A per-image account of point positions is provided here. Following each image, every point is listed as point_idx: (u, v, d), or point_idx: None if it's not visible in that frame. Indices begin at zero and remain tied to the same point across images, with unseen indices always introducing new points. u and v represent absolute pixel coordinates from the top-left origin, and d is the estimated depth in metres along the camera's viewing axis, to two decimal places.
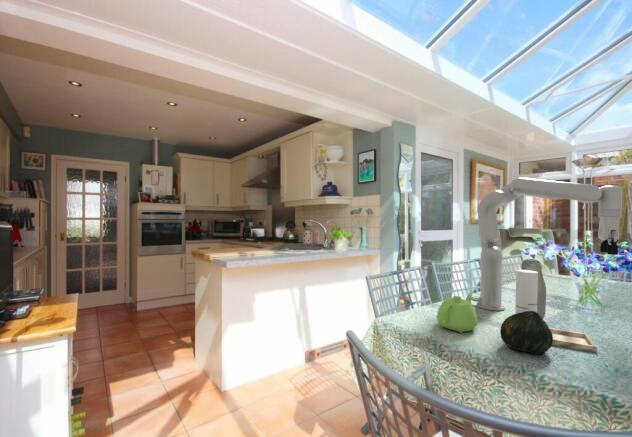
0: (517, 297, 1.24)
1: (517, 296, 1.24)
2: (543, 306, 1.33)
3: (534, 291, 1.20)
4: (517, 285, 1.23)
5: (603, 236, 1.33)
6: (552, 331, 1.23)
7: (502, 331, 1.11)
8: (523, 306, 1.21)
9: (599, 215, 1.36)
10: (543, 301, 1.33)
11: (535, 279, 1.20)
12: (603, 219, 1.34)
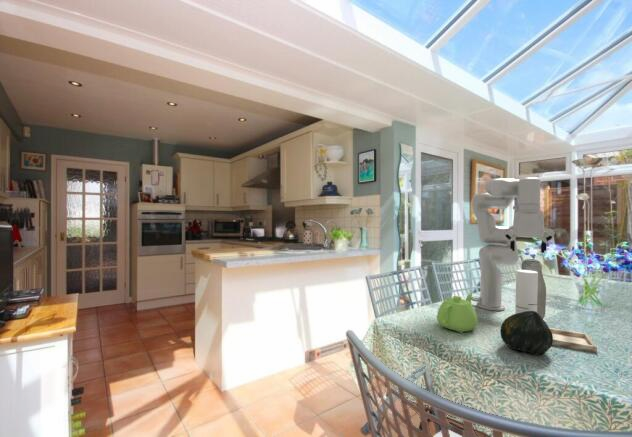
0: (517, 297, 1.24)
1: (517, 296, 1.24)
2: (543, 306, 1.33)
3: (534, 291, 1.20)
4: (517, 285, 1.23)
5: (539, 233, 1.19)
6: (552, 331, 1.23)
7: (502, 331, 1.11)
8: (523, 306, 1.21)
9: (531, 210, 1.19)
10: (543, 301, 1.33)
11: (535, 279, 1.20)
12: (535, 214, 1.20)
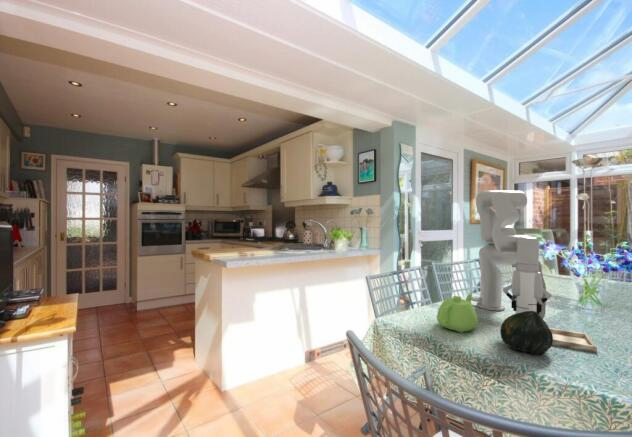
0: (517, 297, 1.24)
1: (517, 296, 1.24)
2: (543, 306, 1.33)
3: None
4: None
5: (538, 294, 1.19)
6: (552, 331, 1.23)
7: (502, 331, 1.11)
8: (523, 306, 1.21)
9: (530, 270, 1.20)
10: None
11: None
12: None
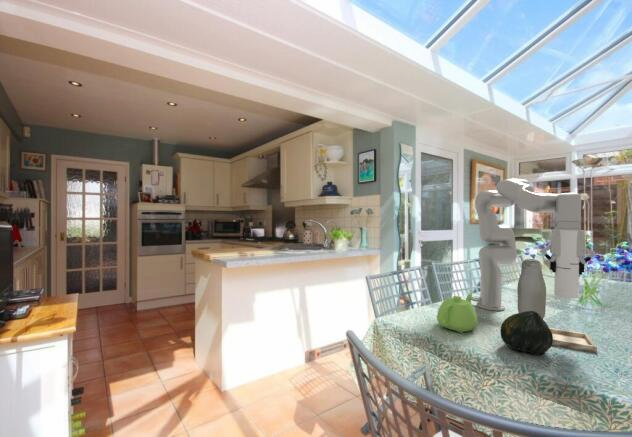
0: (557, 257, 1.16)
1: (557, 256, 1.16)
2: (543, 306, 1.33)
3: None
4: None
5: (580, 253, 1.12)
6: (552, 331, 1.23)
7: (502, 331, 1.11)
8: (564, 266, 1.14)
9: (572, 227, 1.13)
10: (543, 301, 1.33)
11: None
12: None
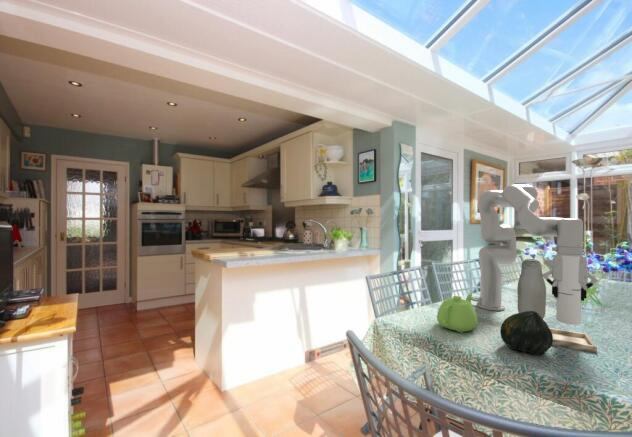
0: (559, 283, 1.16)
1: (559, 281, 1.16)
2: (543, 306, 1.33)
3: None
4: None
5: (582, 279, 1.12)
6: (552, 331, 1.23)
7: (502, 331, 1.11)
8: (566, 292, 1.13)
9: (574, 253, 1.12)
10: (543, 301, 1.33)
11: None
12: None
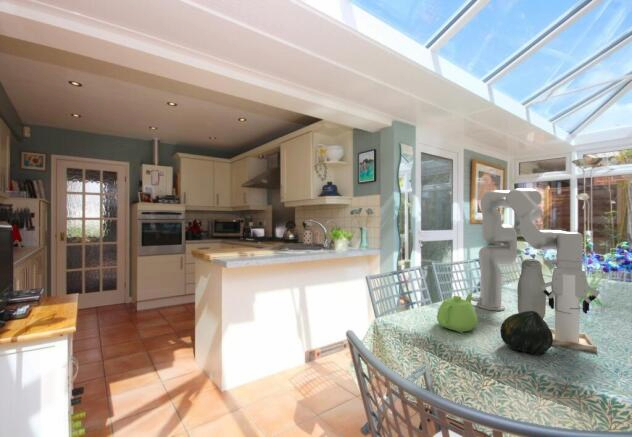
0: (557, 301, 1.16)
1: (557, 300, 1.16)
2: (543, 306, 1.33)
3: None
4: None
5: (582, 293, 1.12)
6: (552, 331, 1.23)
7: (502, 331, 1.11)
8: (565, 310, 1.14)
9: (573, 268, 1.12)
10: (543, 301, 1.33)
11: None
12: (578, 272, 1.12)
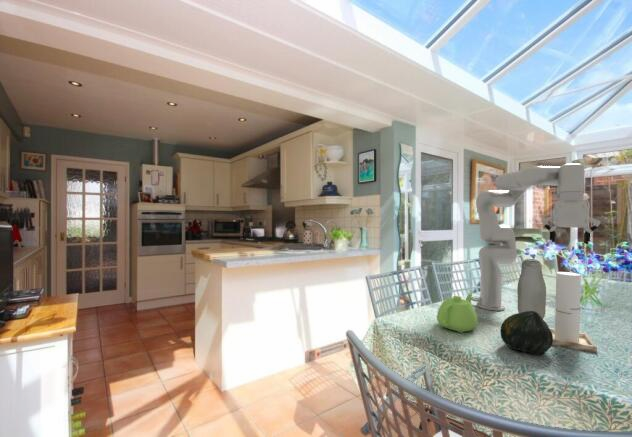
0: (558, 301, 1.16)
1: (558, 300, 1.16)
2: (543, 306, 1.33)
3: (577, 295, 1.13)
4: (558, 289, 1.16)
5: (583, 223, 1.12)
6: (552, 331, 1.23)
7: (502, 331, 1.11)
8: (565, 311, 1.14)
9: (575, 198, 1.12)
10: (543, 301, 1.33)
11: (578, 282, 1.13)
12: (579, 203, 1.12)
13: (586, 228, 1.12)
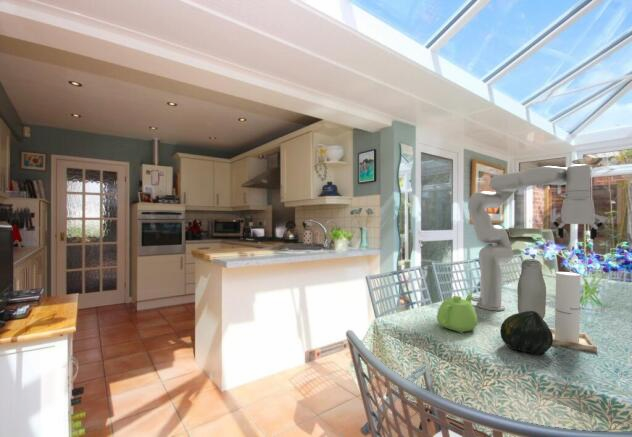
0: (558, 301, 1.16)
1: (558, 300, 1.16)
2: (543, 306, 1.33)
3: (577, 295, 1.13)
4: (558, 288, 1.16)
5: (590, 220, 1.20)
6: (552, 331, 1.23)
7: (502, 331, 1.11)
8: (565, 311, 1.14)
9: (582, 196, 1.20)
10: (543, 301, 1.33)
11: (578, 282, 1.13)
12: (586, 201, 1.20)
13: (592, 225, 1.20)
